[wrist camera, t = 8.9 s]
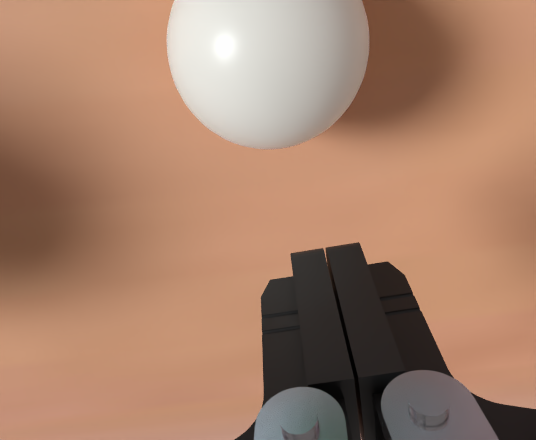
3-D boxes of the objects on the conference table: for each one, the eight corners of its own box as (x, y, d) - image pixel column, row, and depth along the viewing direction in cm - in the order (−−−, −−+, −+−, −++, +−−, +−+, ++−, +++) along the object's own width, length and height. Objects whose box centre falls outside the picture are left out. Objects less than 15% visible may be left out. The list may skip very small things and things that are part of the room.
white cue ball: (190, 200, 14) (193, 85, 17) (381, 176, 14) (345, 65, 17) (127, 19, 9) (149, -86, 13) (407, -19, 9) (352, -115, 13)
